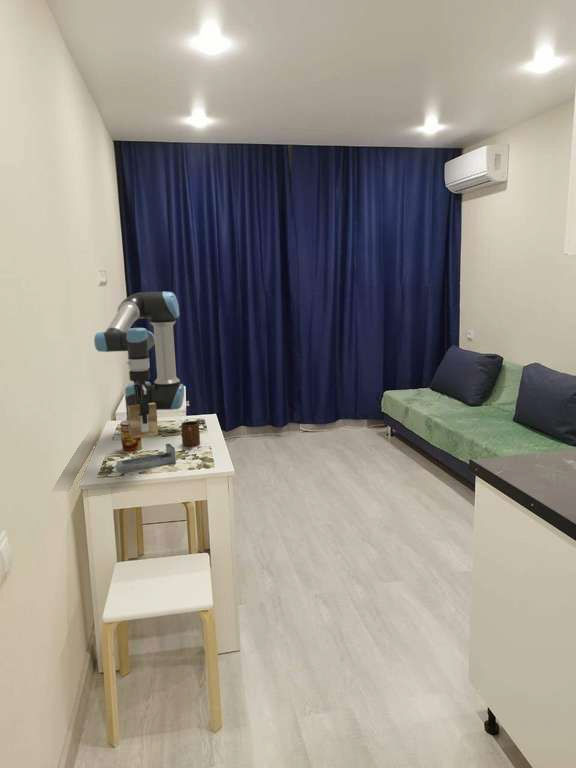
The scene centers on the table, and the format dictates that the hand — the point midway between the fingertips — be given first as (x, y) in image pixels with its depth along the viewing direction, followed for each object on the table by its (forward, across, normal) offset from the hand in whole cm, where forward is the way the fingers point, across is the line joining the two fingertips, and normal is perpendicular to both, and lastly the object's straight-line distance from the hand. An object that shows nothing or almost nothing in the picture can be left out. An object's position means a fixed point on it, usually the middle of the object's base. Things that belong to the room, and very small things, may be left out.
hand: (143, 430), depth 216 cm
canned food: (+14, -24, 0) cm, 28 cm away
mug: (+14, -15, +23) cm, 31 cm away
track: (+14, 0, 0) cm, 14 cm away
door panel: (+2, 0, 0) cm, 2 cm away
